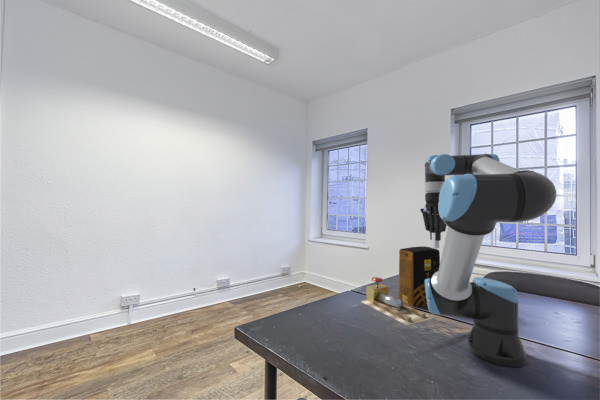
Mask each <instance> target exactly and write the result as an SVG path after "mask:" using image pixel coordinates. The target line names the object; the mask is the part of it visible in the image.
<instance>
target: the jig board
mask: <svg viewBox="0 0 600 400" xmlns="http://www.w3.org/2000/svg"><path fill="white" fill-rule="evenodd" d="M360 302H361V303H362V304H365V305H366V306H368V307H371V308H372V309H374V310H376V311H378V312H380V313H382V314H384V315H385V316H388V317H389V318H391V319H394V320H395V321H397V322H400V323H401V324H403V325H405V326H410V325H414V324H417V323H422V322H425V321H428V320H432V319H435V317H434V316H431V315H428V314H427V313H426V312H423V311H420V310H418V309H416V308H415V307H412V306H409V305H407V304H405V303H403V308H402V310H401V311H397V310H395V309H393V308H391V307H388V306H386V305H384V304H382V303H380V302H378V301H372V303H371V302H369V301H367V299H366V300H365V299H364V300H360Z"/></svg>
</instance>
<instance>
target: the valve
mask: <svg viewBox="0 0 600 400" xmlns="http://www.w3.org/2000/svg"><path fill="white" fill-rule="evenodd" d="M371 281H373V282H375V284H372V285H366V290H365V296H366V300H367V301H369V302H371V303H372V301H378V297H379V295H380V294H381V293H384V294H387V295H389V286H387V285H385V284H382V283H381V282H383V278H382V277H378V276H377V277H376V276H374V277H372V278H371ZM378 302H379V301H378Z"/></svg>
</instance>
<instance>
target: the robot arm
mask: <svg viewBox="0 0 600 400" xmlns="http://www.w3.org/2000/svg"><path fill="white" fill-rule="evenodd" d="M446 176H450V177H448V178H446ZM424 180H425V181H424V191H425V194H424V197H425V200H424V201H425V205H424V207H423V208H420V209H419V210H420V213H421V214H422V218H423V219H422V220H423V223H424V228H425V230H426V231H428V232H429V236H430V240H431V248H434V249H440V242H441V239H442V237H441V233H443V232H444V233H445V232H446V234H445V239H444V243H443V247H442V253H441V257H440V266H439V271H437V272H436V273H434V274H433V276H432V279H431V278H429V279H425V292H426V299H427V305H426V306H427V309H428V311H429V313H430V314H432V315H436V316H437V315H438V316H441V317H442V316H445V317H453V318H454V317H455V318H463V319H471V320H473V325H472V328H471V330H470V332H469V335H468V337H467V348H468V349H469V351H470V352H471V353H472V354H474V355H475V356H477V357H478V358H480V359H483V360H485V361H487V362H489V363H492V364H496V365H498V366H503V367H509V368H521V367H524V366H526V364H527V353H526V351H525V348H524V346H523V342H522V341H521V338H520V335H519V303H520V302H519V299H518V291H517V290H516V288H515V287H513V286H512V285H510V284H508V283H505V282H502V281H499V280H495V279H491V278H487V277H486V278H485V277H480V276H478V277H476V276H475V277H473V279H472V281H470V279H471V276H472V274H473V271H474V268H475V265H476V262H477V258H478V256H479V253H480V249H481V247H482V243H483V241H484V238H485V236H487V235H490V234H491V233H492V232H494V230H495V227H496V226H497V222H498V223H503V222H504V223H506V222H507V223H522V222H527V221H528V222H529V221H533V220H535V219H537V218H540V217H542V216H543V215H545V214H547V212H549V210H551V208H552V207H553V206H554V204H555V202H556V198H557V189H556V187H555V183H553V181H552V180H551V179H550V178H549V177H548V176H546V175H544V174H542V173H538V172H537V171H534V170H529V169H526V170H525V169H523V170H521V169H518V168H515V167H513V166H510V165H508V164H506V163H504V162H501V161H500V157H499V156H498V155H497V154H495V153H482V154H461V155H460V154H459V155H458V154H457V155H450V154H447V153H442V154H441V153H440V154H433V155H428V156H426V157H425V158H424Z"/></svg>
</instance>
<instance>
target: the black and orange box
mask: <svg viewBox="0 0 600 400" xmlns="http://www.w3.org/2000/svg"><path fill="white" fill-rule="evenodd" d="M398 252H399V253H398V255H399V257H398V258H399V259H398V260H399V261H398V299H400V300H402V301H403V304H404V305H407V306H409V307H411V308H417V307H424V306H428V305H427V299H426V292H425V279H429V278H431V279H432V276H433V274H434V273H436V272H437V271H439V266H440V261H441V257H440V256H441V255H440V253H441V252H440V250H439V248H436V249H434V248H432V246H431V247H430V246H411V247H406V248H405V247H403V248H400V249H399V251H398Z"/></svg>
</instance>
